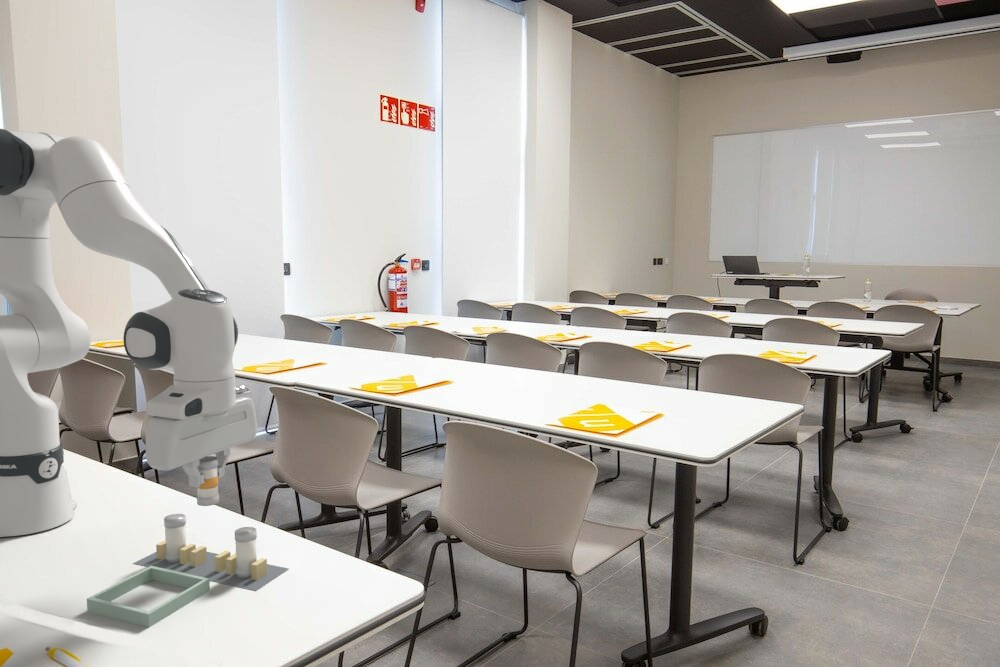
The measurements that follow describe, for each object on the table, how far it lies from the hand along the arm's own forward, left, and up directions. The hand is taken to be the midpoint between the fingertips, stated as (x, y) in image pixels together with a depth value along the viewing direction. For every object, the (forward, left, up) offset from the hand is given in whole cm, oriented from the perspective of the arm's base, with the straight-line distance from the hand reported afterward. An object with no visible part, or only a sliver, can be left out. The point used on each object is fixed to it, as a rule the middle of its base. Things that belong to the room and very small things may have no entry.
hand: (207, 481), depth 113 cm
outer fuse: (+7, 0, -14) cm, 16 cm away
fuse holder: (0, 0, -15) cm, 15 cm away
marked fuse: (0, 0, -3) cm, 3 cm away
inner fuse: (-7, 0, -14) cm, 16 cm away
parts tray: (0, -12, -15) cm, 19 cm away
